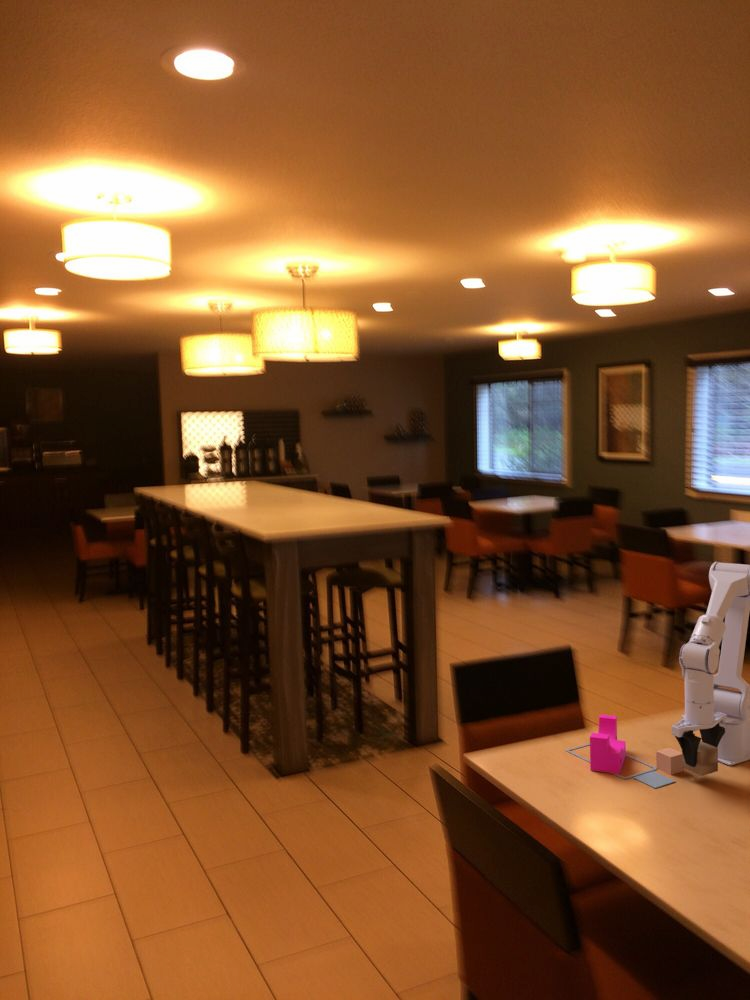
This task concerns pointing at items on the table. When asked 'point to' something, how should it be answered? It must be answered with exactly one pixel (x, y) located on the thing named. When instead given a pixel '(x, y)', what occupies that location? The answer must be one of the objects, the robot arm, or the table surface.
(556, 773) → the table surface
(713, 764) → the walnut cube
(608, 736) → the toy block
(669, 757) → the terracotta block
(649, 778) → the frame
